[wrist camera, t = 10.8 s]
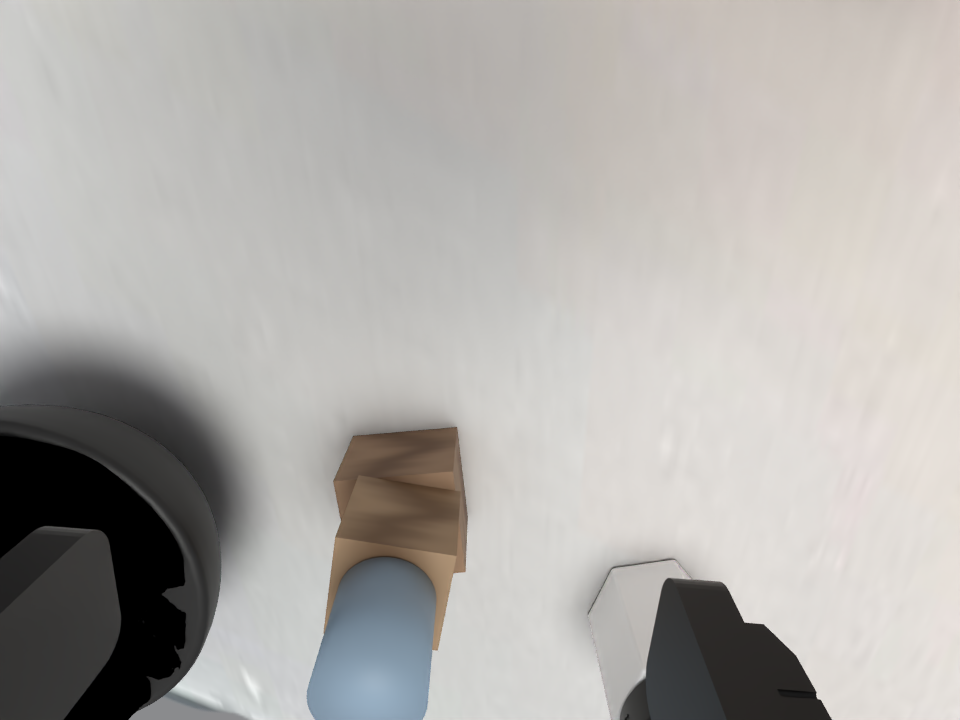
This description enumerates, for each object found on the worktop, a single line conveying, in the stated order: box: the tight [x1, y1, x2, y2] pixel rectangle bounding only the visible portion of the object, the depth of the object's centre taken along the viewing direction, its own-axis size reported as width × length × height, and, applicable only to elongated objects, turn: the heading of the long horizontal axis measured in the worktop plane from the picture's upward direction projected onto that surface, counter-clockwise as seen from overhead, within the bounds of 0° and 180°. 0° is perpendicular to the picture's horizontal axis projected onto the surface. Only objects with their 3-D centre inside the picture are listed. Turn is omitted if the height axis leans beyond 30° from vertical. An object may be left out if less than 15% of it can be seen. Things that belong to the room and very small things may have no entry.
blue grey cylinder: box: [307, 557, 436, 720], centre depth 29 cm, size 5×5×6 cm
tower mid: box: [324, 475, 461, 651], centre depth 34 cm, size 6×6×6 cm
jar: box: [588, 560, 692, 720], centre depth 40 cm, size 9×8×12 cm
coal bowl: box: [0, 405, 221, 720], centre depth 34 cm, size 20×20×19 cm
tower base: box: [333, 427, 468, 573], centre depth 40 cm, size 7×7×6 cm
